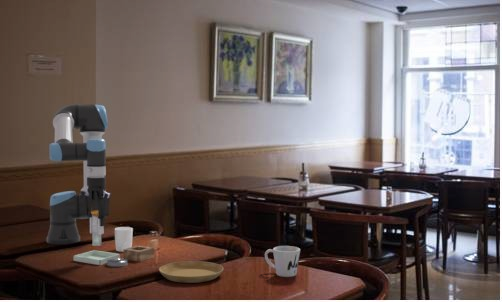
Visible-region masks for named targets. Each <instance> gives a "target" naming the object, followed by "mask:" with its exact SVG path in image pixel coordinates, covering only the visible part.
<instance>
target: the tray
mask: <svg viewBox="0 0 502 302" xmlns="http://www.w3.org/2000/svg"><path fill="white" fill-rule="evenodd" d="M115 258H120V259H121V254H120V253H116V252H110V251H109V252H108V251H101V250H95V249H93V250H90V251H87V252H86V251H85V252H82V253H78V254H75V255H73V262H78V263H85V264H90V265H97V266H102V265H107V261H108V260H110V259H115Z"/></svg>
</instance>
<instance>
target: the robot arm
mask: <svg viewBox="0 0 502 302" xmlns="http://www.w3.org/2000/svg"><path fill="white" fill-rule="evenodd" d="M108 122H109V121H108V115H107V110H106V108H105V106H104V105H101V104H68V105H65V106H63V107H62V108H60V109H59V110H57V111H56V112H55V114H54V116H53V118H52V126H53V128H54V142H52V143H49V160H50V161H52V162H70V161H71V162H72V161H77V162H79V161H80V162H81V161H83V187H82V188H81V189H80V193H79V194H78V193H77V191H75V190H69V191H61V192H57V193H53V194H52V195H50V199H49V209H50V211H49V215H50V216H49V221H50V222H49V223H50V225H49V230H48V232H47V236H46V244H49V245H71V244H72V245H73V244H76V243H79V242H80V241H81V235H80V234H79V229H78V227H77V220H80V219H81V220H82V219H83V220H84V219H86V220H87V219H88V225H89V234H92V214H91V211H94V210H98V212H99V217H98V234H99V235H100V234H101V235H104V232H105V230H104V228H105V226H106V225H105V224H106V220H105V219H106V218H107V217H109V216H110V202H111V201H110V200H111V199H110V198H111V196H112V193H111V192H107V189H106V184H107V178H106V176H107V175H106V174H107V170H106V160H107V159H106V158H107V157H106V153H107V152H106V151H107V150H106V148H107V146H106V140H105V139H104V138H103V137H102V136H103V135H105V133H106V130H108V127H109V125H108ZM73 130H79V134H80V135H81V136H82V137H83V138H82V139H83V142H74V139H73V138H74V137H73Z"/></svg>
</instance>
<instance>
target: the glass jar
mask: <svg viewBox="0 0 502 302" xmlns="http://www.w3.org/2000/svg"><path fill="white" fill-rule="evenodd" d="M91 214H92V235H91V237H92V238H91V239H92V242H91V243H92V246H93V247H95V246H96V247H97V246H102V234H100V235H99V234H98V217H99V212H98V210H94V211H91Z"/></svg>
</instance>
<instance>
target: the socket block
mask: <svg viewBox="0 0 502 302" xmlns="http://www.w3.org/2000/svg"><path fill="white" fill-rule="evenodd" d="M153 258H155V247H150V246H145V245H143V246H142V245H134V246H133V245H132V247H130V248H127V249H123V257H122V259H127V260H128V261H133V262H143V261H148V260H149V259H153Z"/></svg>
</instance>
